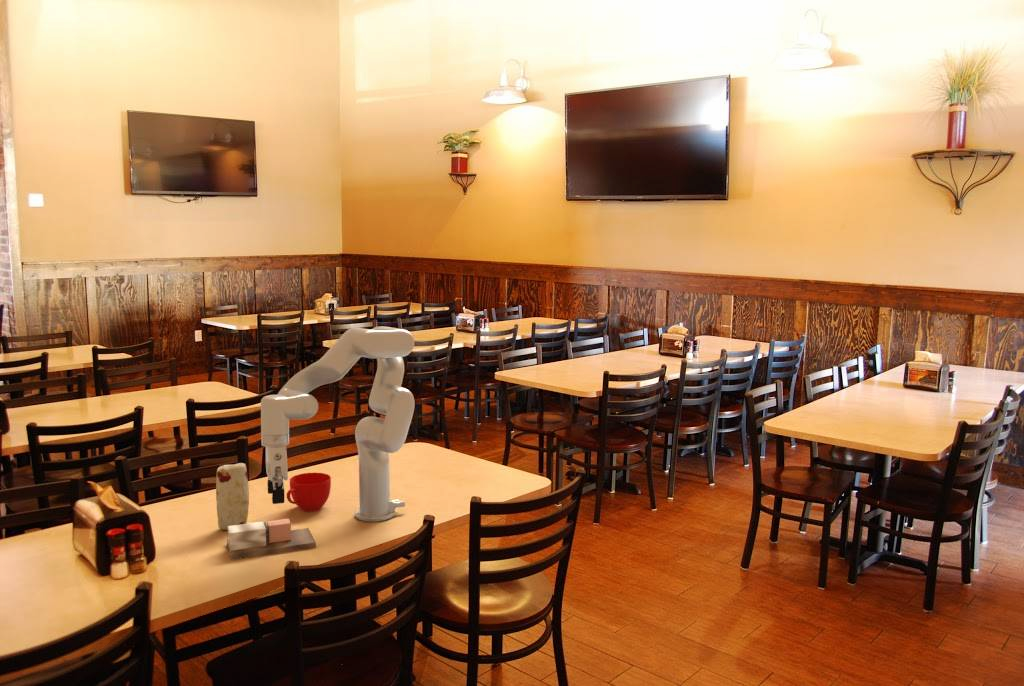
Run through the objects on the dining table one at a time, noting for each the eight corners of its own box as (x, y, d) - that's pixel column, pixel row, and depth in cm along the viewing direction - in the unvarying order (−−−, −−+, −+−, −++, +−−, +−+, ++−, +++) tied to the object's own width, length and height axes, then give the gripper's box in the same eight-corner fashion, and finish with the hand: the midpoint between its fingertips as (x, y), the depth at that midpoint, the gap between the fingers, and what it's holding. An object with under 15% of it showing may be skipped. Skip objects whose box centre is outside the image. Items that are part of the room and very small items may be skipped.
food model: (222, 534, 240) (219, 469, 237) (213, 528, 245) (210, 464, 242) (254, 526, 247) (251, 462, 244) (244, 520, 252) (241, 458, 249)
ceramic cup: (272, 514, 257) (271, 484, 256) (309, 499, 272) (308, 470, 270) (304, 521, 251) (303, 490, 250) (339, 505, 266) (339, 476, 264)
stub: (289, 535, 236) (288, 518, 235) (291, 539, 232) (290, 523, 231) (267, 538, 233) (267, 521, 233) (269, 542, 230) (268, 526, 229)
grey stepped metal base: (308, 532, 242) (307, 511, 241) (315, 547, 231) (315, 525, 230) (227, 544, 233) (226, 522, 232) (230, 560, 222) (229, 537, 221)
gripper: (293, 445, 222) (294, 505, 224) (284, 431, 238) (284, 488, 240) (265, 447, 219) (266, 508, 221) (257, 433, 235) (258, 490, 237)
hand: (275, 498), depth 231 cm, fingers open, 9 cm apart
